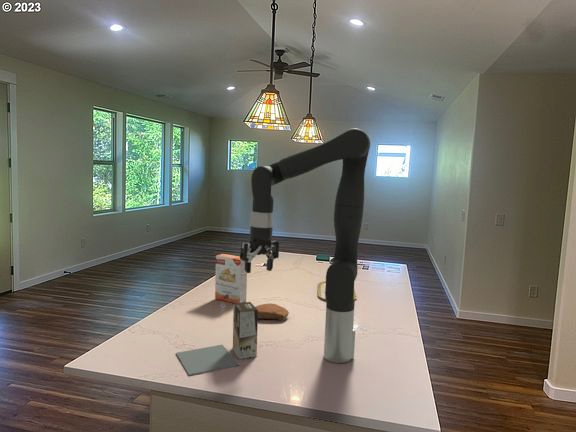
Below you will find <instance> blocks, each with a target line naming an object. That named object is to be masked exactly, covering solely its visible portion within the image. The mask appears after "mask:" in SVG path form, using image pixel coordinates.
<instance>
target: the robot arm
mask: <svg viewBox="0 0 576 432" xmlns="http://www.w3.org/2000/svg"><path fill="white" fill-rule="evenodd" d="M370 148H371V140H370V137H369V136H368V134H367V133H366V132H365V131H364V130H362V129H361V128H355V127H354V128H353V127H352V128H349V129H347V130H345V131H344V132H343V133H341V134H339V135H337V136H336V137H334V138H332V139H331V140H328V141H327V142H324V143H322V144H320V145H317V146H315V147H312V148H308V149H305V150H302V151H300V152H297V153H294V154H291V155H288V156H286V157H284V158H283V157H282V159H280V160H279V161H277V162H274V163H272V164H267V165H258V166H257V167H255V168H254V169H253V171H252V173H251V177H250V178H251V179H250V181H251V193H252V209H251V217H250V225H249V226H250V229H249V238H250V239H249V242H244V241H243V242H241V243H240V244H241V245H240V252H239V257H240V259H241V260H243V261H245V268H244V269H245V271H246V273H247V274H251V273H252V261H253V259H254V258H256V256H260V255H263V256H264V255H265V256H266V258H267V260H266V271H268V272H271V271H272V270H273V266H274V260H275V259H278V258H279V257H280V252H279V250H280V248H279V247H280V242H279V241H277V240H272V238H273V226H274V203H275V202H274V196H272V186H275V185H278V184H279V183H282V182H285V181H286V180H289V179H293V178H295V177H296V178H297V177H298V176H301V175H305V174H306V173H309V172H311V171H313V170H316V169H318V168H319V167H323V166H324V165H326V164H329V163H333V162H336V161H340V160H342V169H341V170H342V171H341V177H340V180H339V183H338V187H337V192H336V195H335V201H334V211H333V225H334V226H333V228H334V235H335V249H334V253H333V254H334V255H333V260H332V262H331V264H330V265H329V266H328V268H327V270H326V273H325V281H326V284H325V294H324V295H325V299H326V301H325V304H326V305H325V306H326V307H325V324H324V325H325V326H324V342H323V343H324V344H323V345H324V346H323V348H324V349H323V357H324V359H325V360H327V361H328V362H331V363H335V364H346V363H348V362H350V361H351V360H353V359H354V358H355V345H356V330H355V329H354V318H355V317H354V316H355V300H354V290H355V281H356V279H357V276H358V248H359V247H358V245H359V238H360V235H361V229H362V223H363V218H364V217H363V216H364V204H365V172H366V166H367V162H368V156H369V152H370Z"/></svg>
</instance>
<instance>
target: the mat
mask: <svg viewBox="0 0 576 432" xmlns="http://www.w3.org/2000/svg"><path fill="white" fill-rule="evenodd" d="M175 354H176V356H177V357H178V360H179V361H180V363H181V365H182V367H183V368H184V370H185V371H186V373H187V375H188V376H189V377H190V376H194V375H195V376H197V375H199V374H200V375H201V374H206V373H210V372H213V371H218V370H223V369H229V368H233V366H234V367H238V366H237V365H239V366H240V362H238V361H237V360H236V359H235V358H234V356H233V355H232V354H231V353H230V352H229V350H228V349H227V348H226V347H225V345H223V344H218V345H212V346H206V347H200V348H196V349H195V348H194V349H189V350H184V351H178V352H176V353H175Z"/></svg>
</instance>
